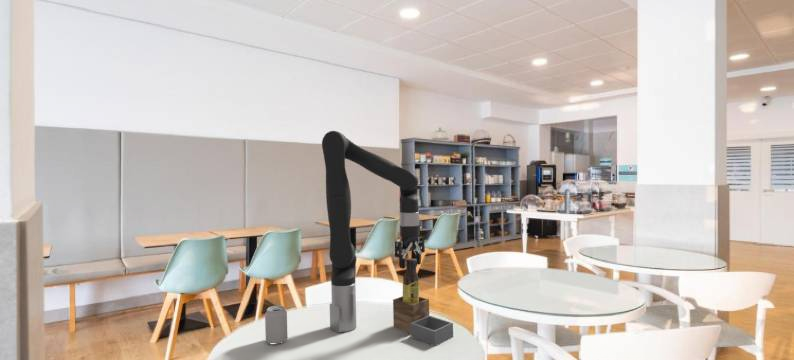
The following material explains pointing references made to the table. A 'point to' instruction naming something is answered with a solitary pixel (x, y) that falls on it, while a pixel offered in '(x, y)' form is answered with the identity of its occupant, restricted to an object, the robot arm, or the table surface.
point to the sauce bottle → (411, 283)
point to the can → (276, 324)
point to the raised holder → (409, 312)
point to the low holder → (432, 330)
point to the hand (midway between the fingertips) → (410, 266)
